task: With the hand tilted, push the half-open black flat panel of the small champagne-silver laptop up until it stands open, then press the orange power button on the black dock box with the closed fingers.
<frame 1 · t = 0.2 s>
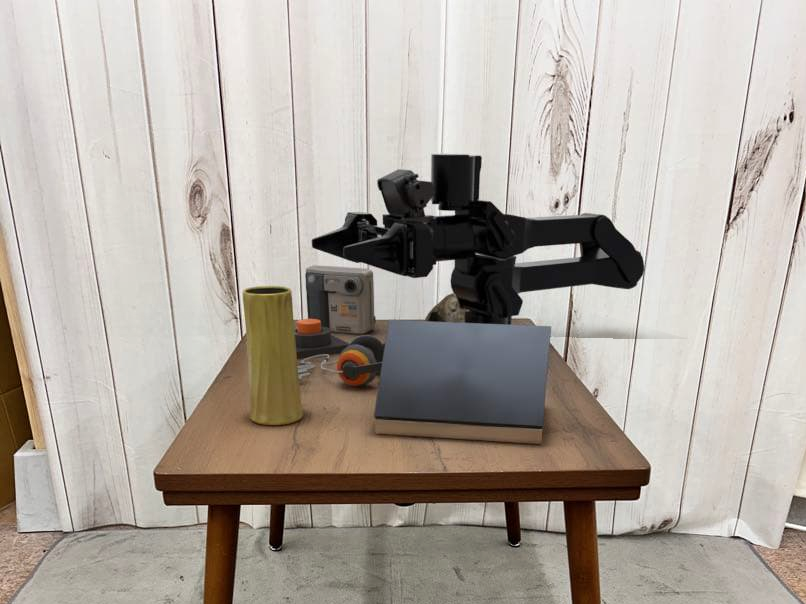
hand: (327, 247, 97), 17 cm above the table, tool horizontal, fingers open, 9 cm apart
headphones: (352, 381, 104), on the table
camera: (341, 331, 130), on the table
power button: (308, 327, 116), point 3 cm above the table, slide at 0.1 cm
black flat panel: (463, 373, 85), point 6 cm above the table, hinge at 45.0°
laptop: (463, 421, 89), on the table
dock: (310, 350, 118), on the table
fossilized seashell: (450, 331, 130), on the table
vase: (277, 419, 90), on the table
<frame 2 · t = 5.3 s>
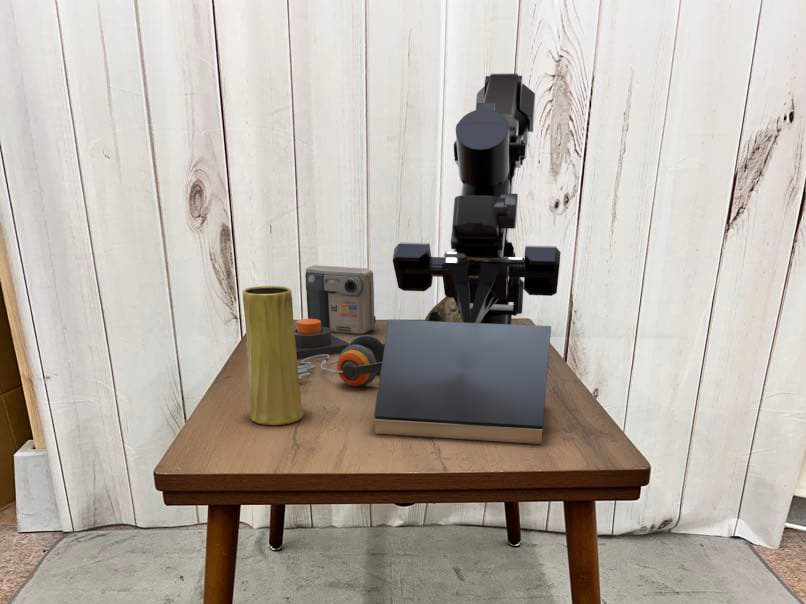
hand: (468, 332, 87), 9 cm above the table, tool tilted 45°, fingers closed, pressing on black flat panel
black flat panel: (463, 372, 85), point 6 cm above the table, hinge at 45.3°, touching gripper
everything else where it was.
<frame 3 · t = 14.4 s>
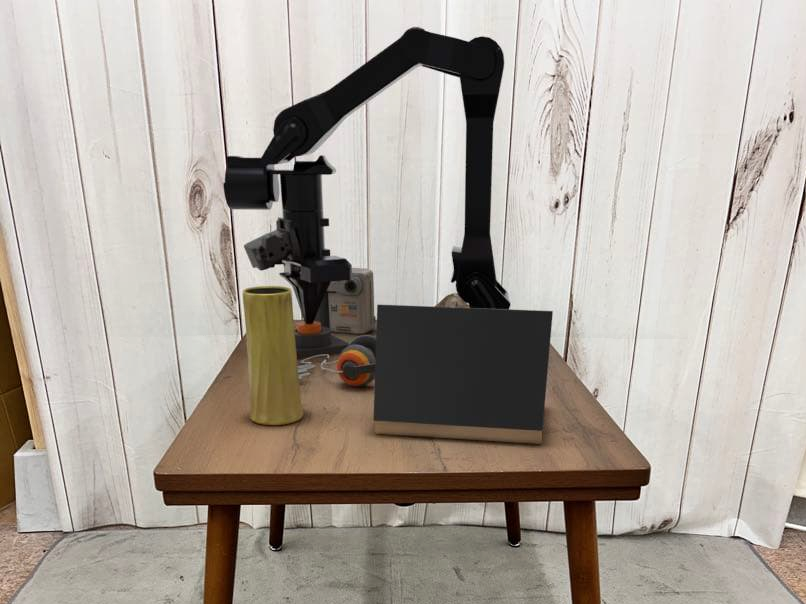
hand: (308, 323, 116), 4 cm above the table, tool pointing down, fingers closed, pressing on power button
power button: (309, 329, 117), point 3 cm above the table, slide at -0.2 cm, touching gripper
black flat panel: (460, 367, 81), point 8 cm above the table, hinge at 76.6°
everything else where it was.
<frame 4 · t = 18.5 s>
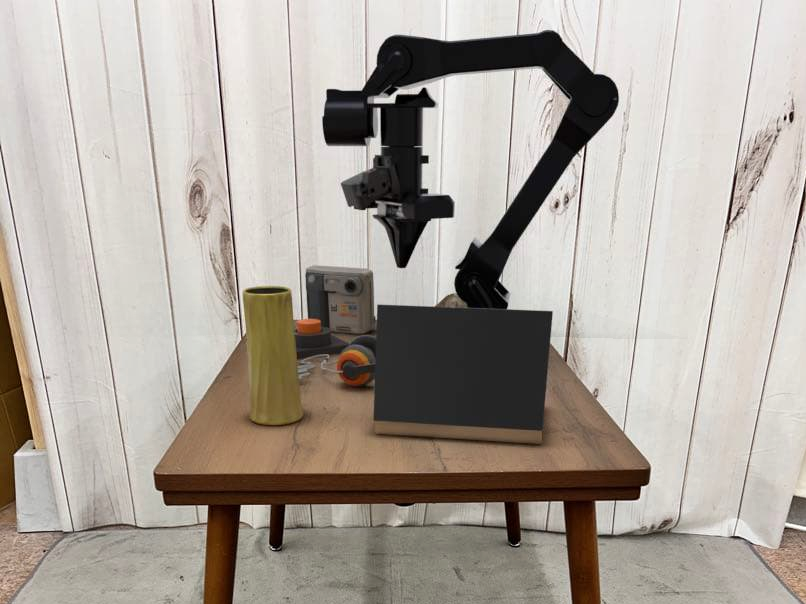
hand: (401, 267, 112), 12 cm above the table, tool pointing down, fingers closed
power button: (308, 327, 116), point 3 cm above the table, slide at 0.1 cm
everything else where it was.
at the end: black flat panel at +77° (first picture: +45°); power button pushed in 1.1 cm at the most during the clip, back to where it started at the end; power button slide at 0.1 cm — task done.
